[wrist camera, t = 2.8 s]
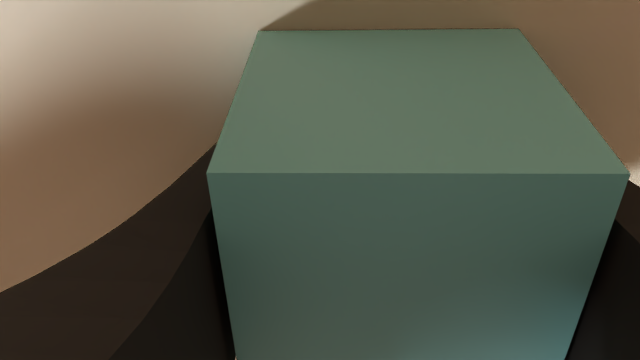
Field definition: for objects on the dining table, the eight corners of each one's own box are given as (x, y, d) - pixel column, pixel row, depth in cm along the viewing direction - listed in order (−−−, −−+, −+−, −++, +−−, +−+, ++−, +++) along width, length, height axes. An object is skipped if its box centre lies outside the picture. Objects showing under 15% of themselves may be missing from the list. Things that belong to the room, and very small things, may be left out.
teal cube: (480, 231, 13) (541, 422, 9) (274, 229, 14) (245, 416, 10) (518, 28, 11) (629, 174, 6) (258, 31, 11) (206, 172, 7)
